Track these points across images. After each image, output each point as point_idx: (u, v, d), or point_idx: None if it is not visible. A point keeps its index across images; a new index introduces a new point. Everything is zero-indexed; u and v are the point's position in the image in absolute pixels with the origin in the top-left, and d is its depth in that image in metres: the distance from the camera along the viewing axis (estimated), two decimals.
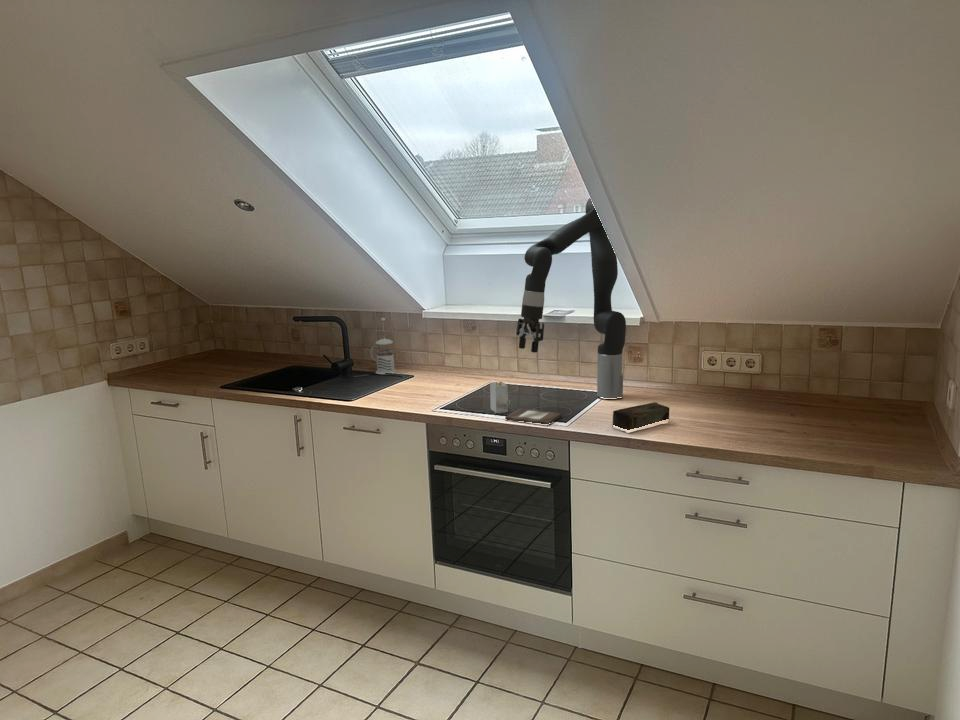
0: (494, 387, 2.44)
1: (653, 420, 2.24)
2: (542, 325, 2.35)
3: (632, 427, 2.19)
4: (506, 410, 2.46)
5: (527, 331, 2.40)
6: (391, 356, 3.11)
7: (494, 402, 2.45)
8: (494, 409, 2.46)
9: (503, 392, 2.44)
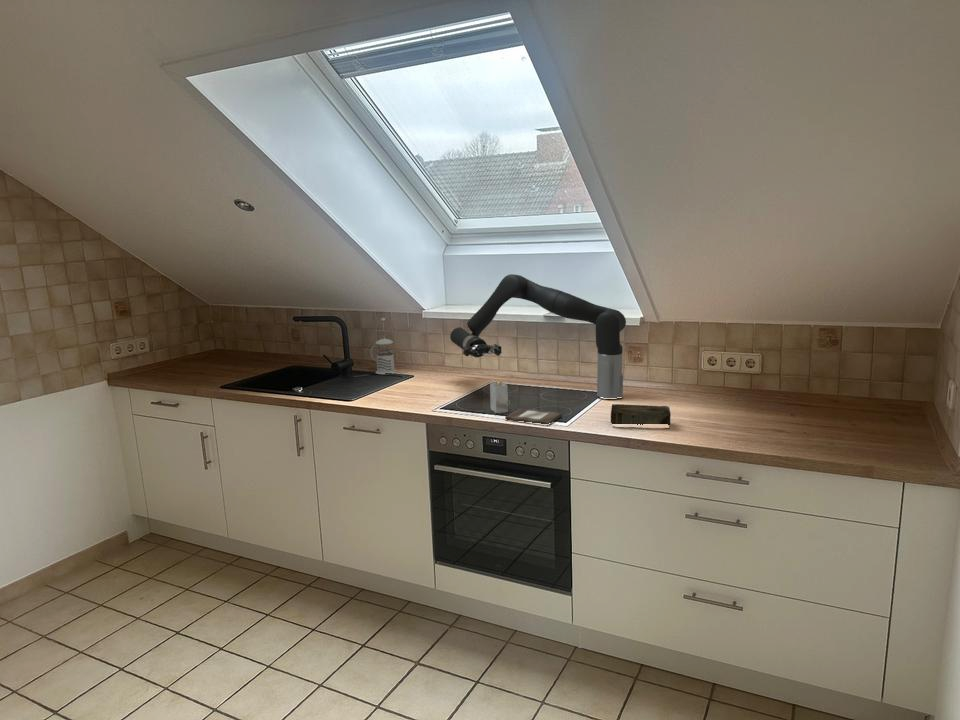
0: (494, 387, 2.44)
1: (645, 421, 2.23)
2: None
3: (616, 422, 2.25)
4: (506, 410, 2.46)
5: (482, 353, 2.61)
6: (391, 356, 3.11)
7: (494, 402, 2.45)
8: (494, 409, 2.46)
9: (503, 392, 2.44)
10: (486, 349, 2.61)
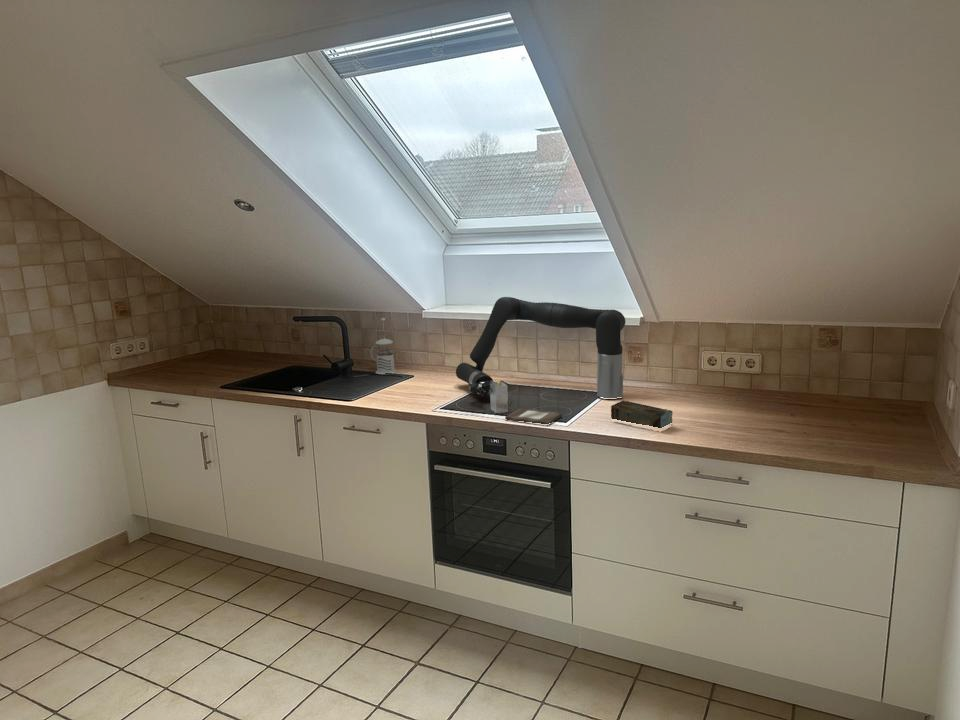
0: (494, 387, 2.44)
1: (638, 420, 2.24)
2: (469, 386, 2.59)
3: (614, 417, 2.31)
4: (506, 410, 2.46)
5: (488, 390, 2.58)
6: (391, 356, 3.11)
7: (494, 402, 2.45)
8: (494, 409, 2.46)
9: (503, 392, 2.44)
10: None
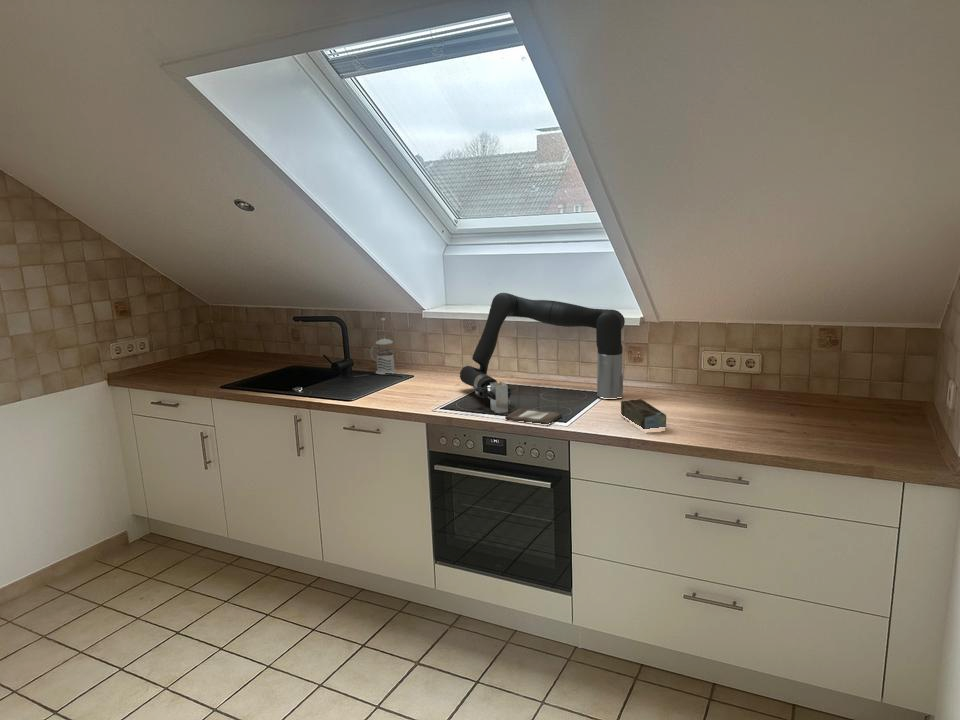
0: (494, 387, 2.44)
1: (633, 419, 2.26)
2: (475, 390, 2.51)
3: (622, 413, 2.35)
4: (506, 410, 2.46)
5: None
6: (391, 356, 3.11)
7: (494, 402, 2.45)
8: (494, 409, 2.46)
9: (503, 391, 2.44)
10: None
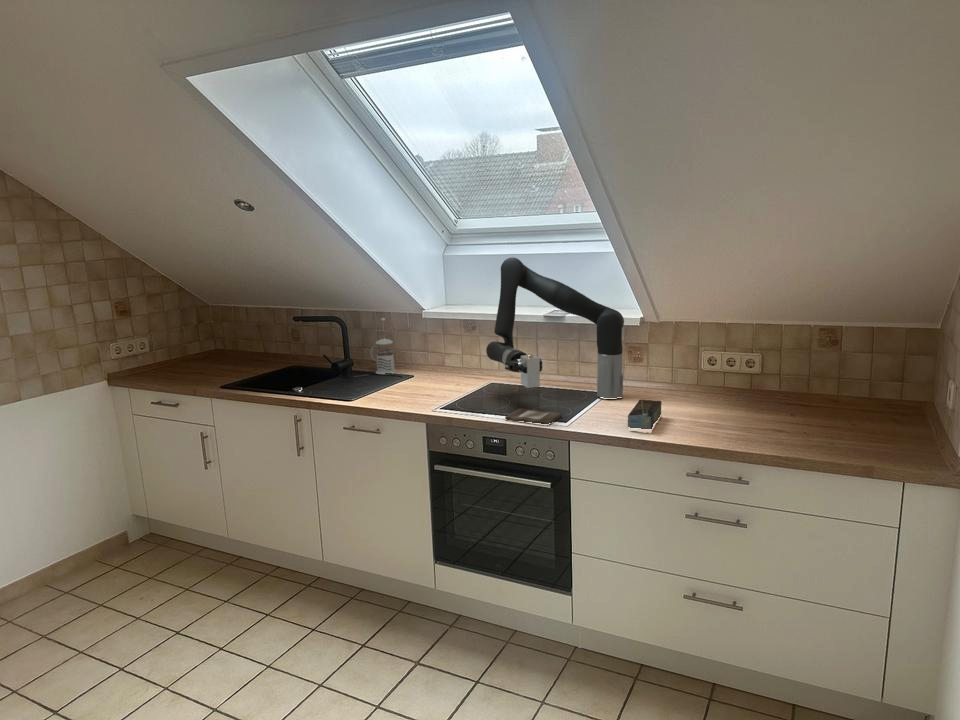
0: (525, 360, 2.32)
1: None
2: (505, 364, 2.39)
3: None
4: (538, 384, 2.34)
5: None
6: (391, 356, 3.11)
7: (525, 376, 2.34)
8: (525, 383, 2.35)
9: (535, 364, 2.32)
10: None
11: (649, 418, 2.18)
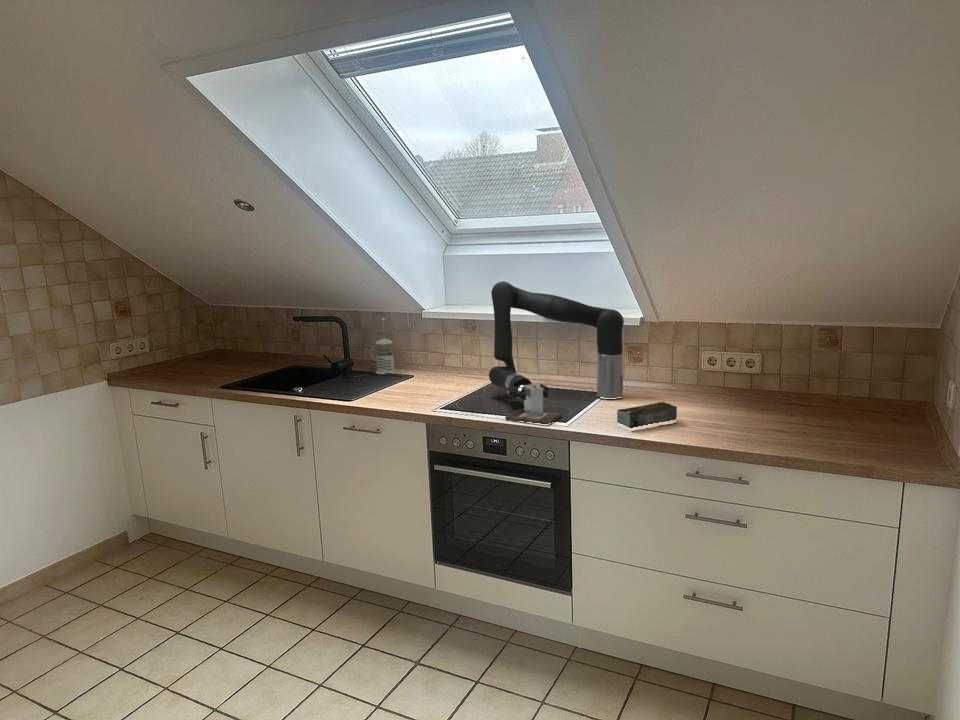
0: (529, 390, 2.34)
1: None
2: (507, 390, 2.41)
3: None
4: (541, 414, 2.35)
5: None
6: (391, 356, 3.11)
7: (529, 406, 2.35)
8: (529, 413, 2.36)
9: (538, 395, 2.34)
10: None
11: (628, 416, 2.20)
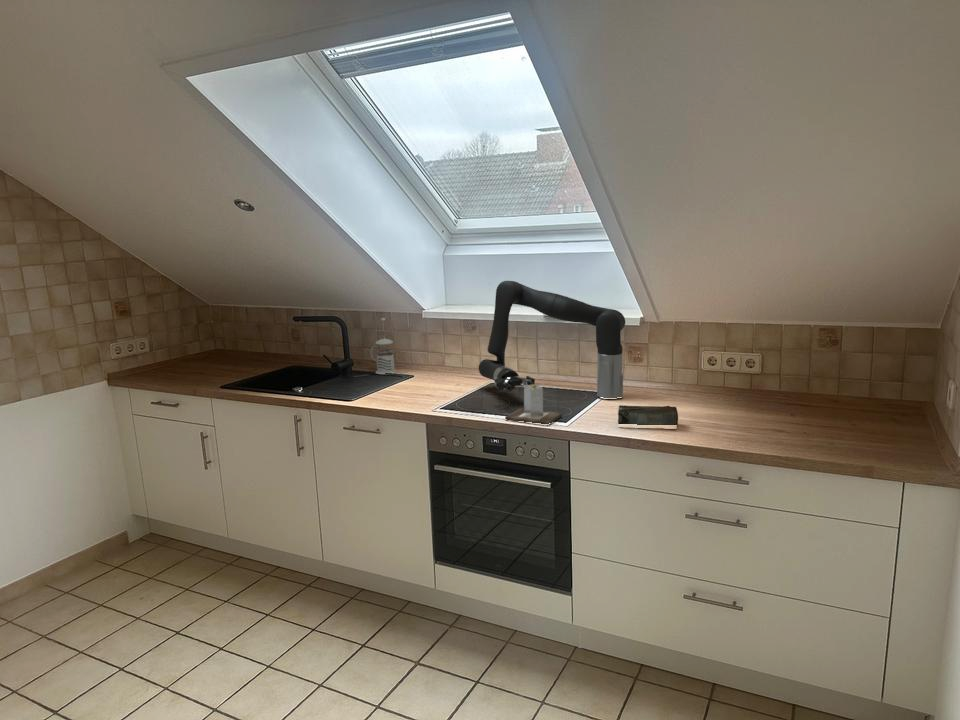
0: (529, 390, 2.34)
1: None
2: None
3: None
4: (541, 414, 2.35)
5: (514, 386, 2.53)
6: (391, 356, 3.11)
7: (529, 406, 2.35)
8: (529, 413, 2.36)
9: (538, 395, 2.34)
10: (519, 382, 2.53)
11: (618, 412, 2.25)
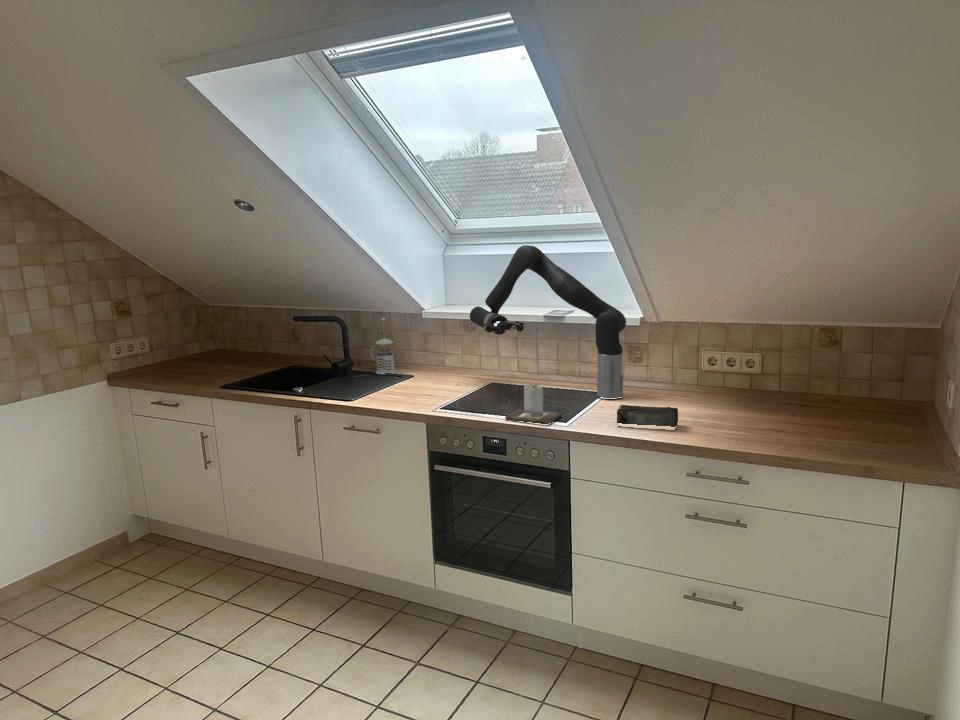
0: (529, 390, 2.34)
1: None
2: (484, 325, 2.58)
3: None
4: (541, 414, 2.35)
5: (503, 329, 2.58)
6: (391, 356, 3.11)
7: (529, 406, 2.35)
8: (529, 413, 2.36)
9: (538, 395, 2.34)
10: (508, 326, 2.57)
11: (617, 411, 2.26)
